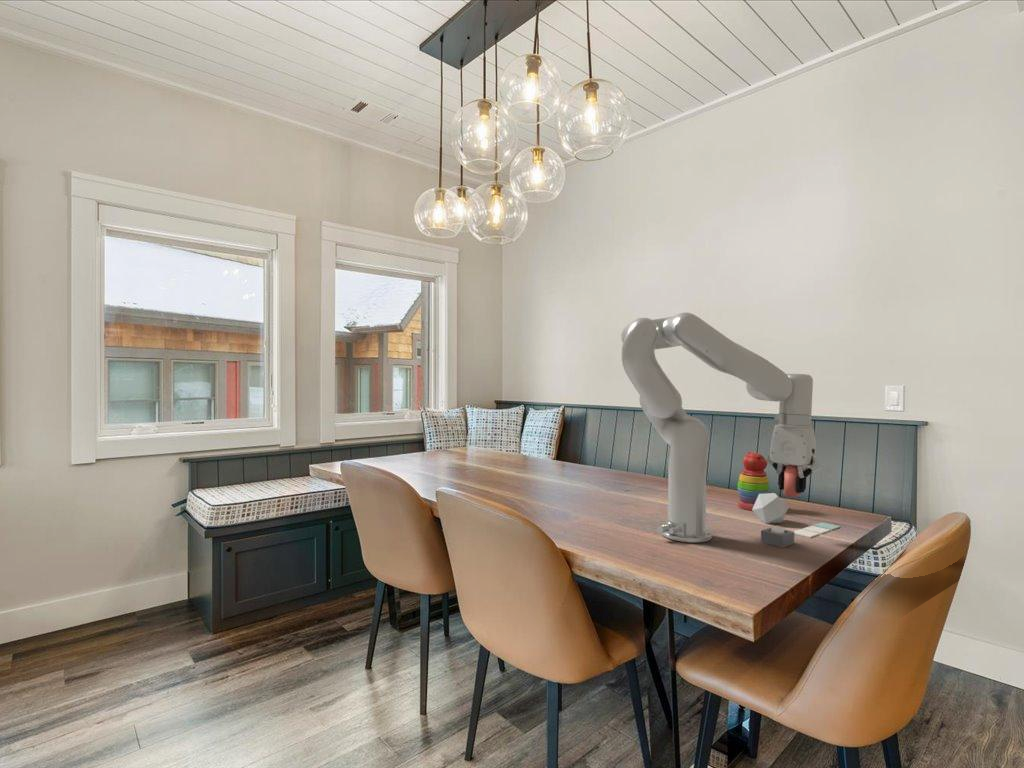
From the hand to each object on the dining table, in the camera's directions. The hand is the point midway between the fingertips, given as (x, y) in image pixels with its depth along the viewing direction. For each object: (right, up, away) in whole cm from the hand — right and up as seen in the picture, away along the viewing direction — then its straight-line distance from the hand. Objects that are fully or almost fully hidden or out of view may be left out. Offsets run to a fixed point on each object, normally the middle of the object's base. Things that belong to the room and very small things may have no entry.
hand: (791, 490), depth 143 cm
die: (+2, -12, +16) cm, 20 cm away
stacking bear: (+5, -12, +33) cm, 35 cm away
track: (+8, -12, +5) cm, 16 cm away
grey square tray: (-6, -13, -4) cm, 15 cm away
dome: (-6, -12, -4) cm, 14 cm away
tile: (+15, -12, +11) cm, 22 cm away
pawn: (0, -1, 0) cm, 1 cm away
